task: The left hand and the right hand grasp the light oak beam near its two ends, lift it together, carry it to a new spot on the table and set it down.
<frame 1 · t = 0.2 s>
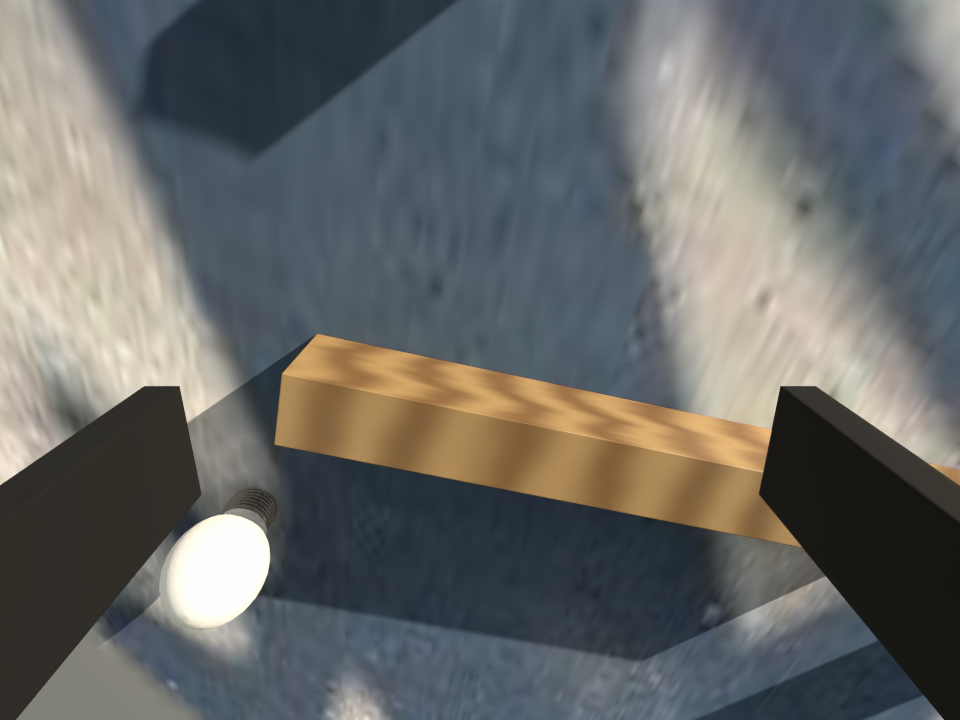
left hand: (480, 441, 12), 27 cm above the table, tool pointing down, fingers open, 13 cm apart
beam: (650, 434, 43), on the table
light bulb: (254, 509, 46), on the table
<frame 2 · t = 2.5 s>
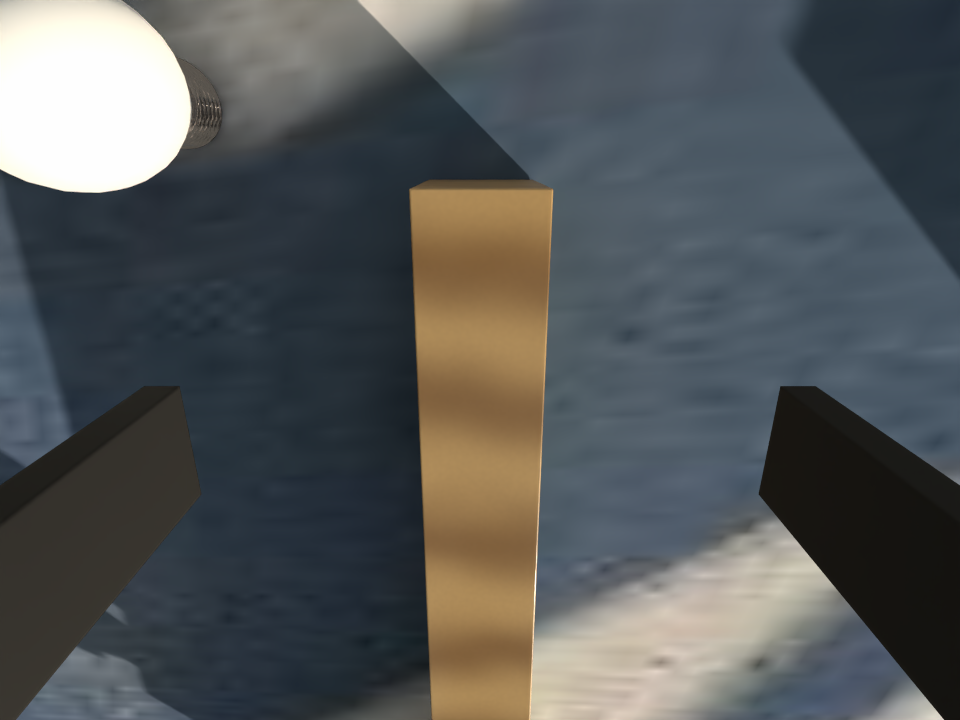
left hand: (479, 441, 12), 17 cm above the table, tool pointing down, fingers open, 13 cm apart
beam: (480, 612, 35), on the table, touching right hand
light bulb: (176, 105, 25), on the table
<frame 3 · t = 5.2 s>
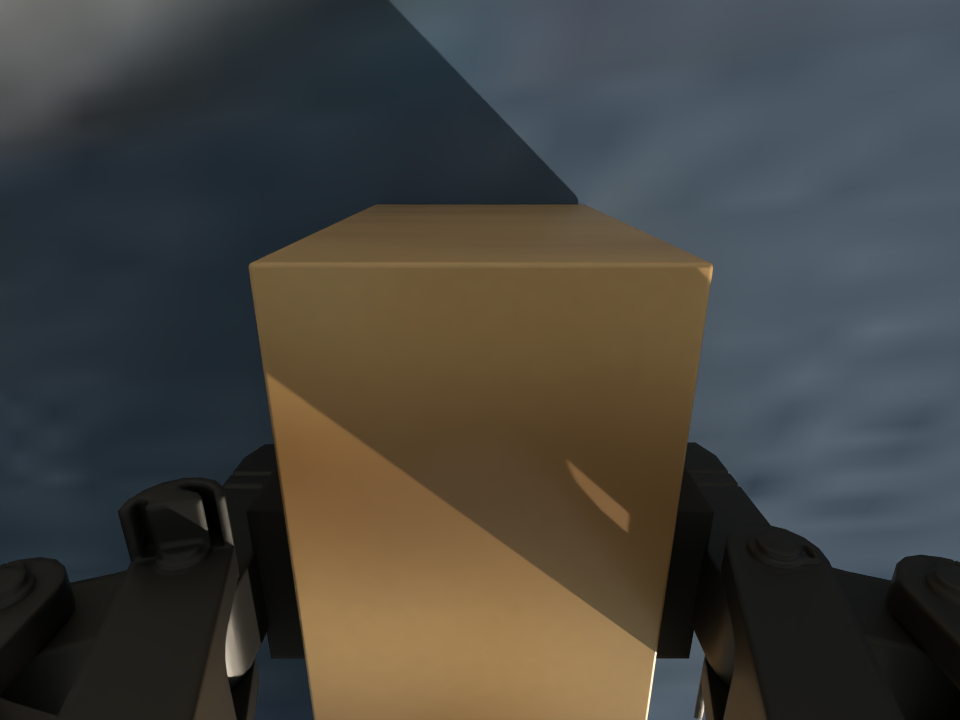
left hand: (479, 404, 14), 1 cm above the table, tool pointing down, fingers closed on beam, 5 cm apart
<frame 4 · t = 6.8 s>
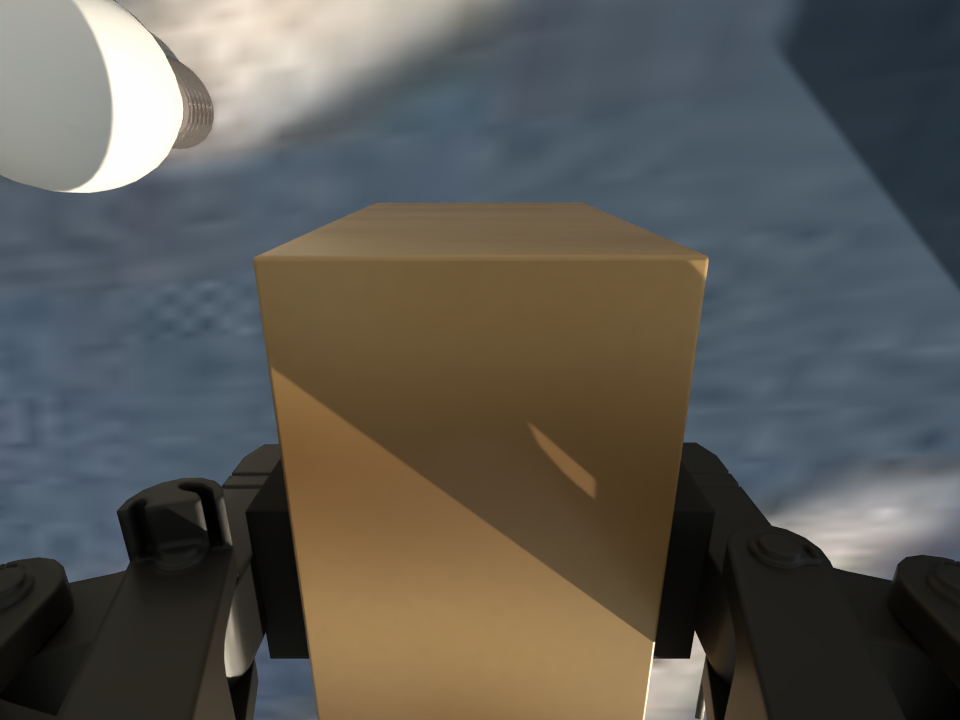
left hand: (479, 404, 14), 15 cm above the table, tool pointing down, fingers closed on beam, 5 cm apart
light bulb: (167, 105, 25), on the table
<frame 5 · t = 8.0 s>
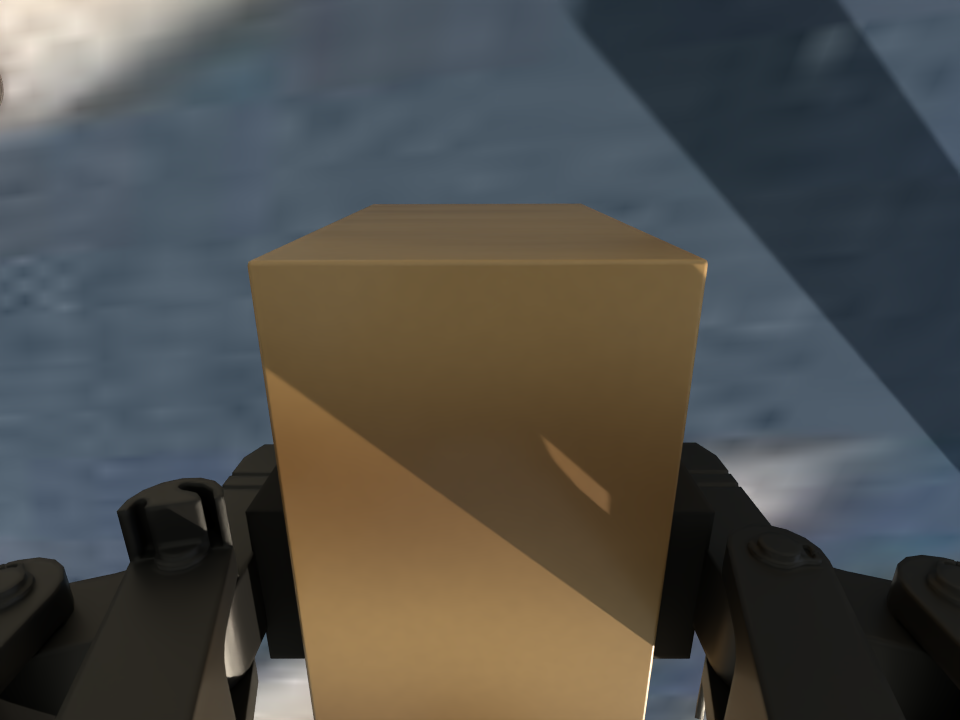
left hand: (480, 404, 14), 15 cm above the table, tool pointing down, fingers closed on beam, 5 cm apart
when the left hand's fingers open (2 cm above the table, at t = 11.0 s): beam drops 2 cm, on the table.
when the right hand's fingers open (5 cm above the table, at t = 11.2 s): beam stays where it is, on the table.
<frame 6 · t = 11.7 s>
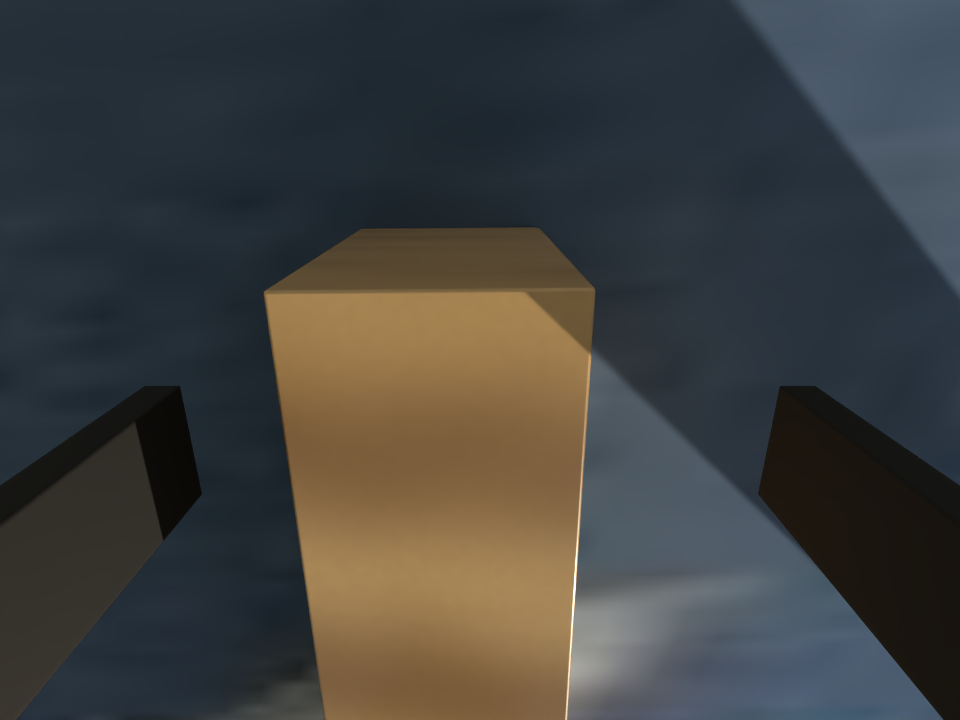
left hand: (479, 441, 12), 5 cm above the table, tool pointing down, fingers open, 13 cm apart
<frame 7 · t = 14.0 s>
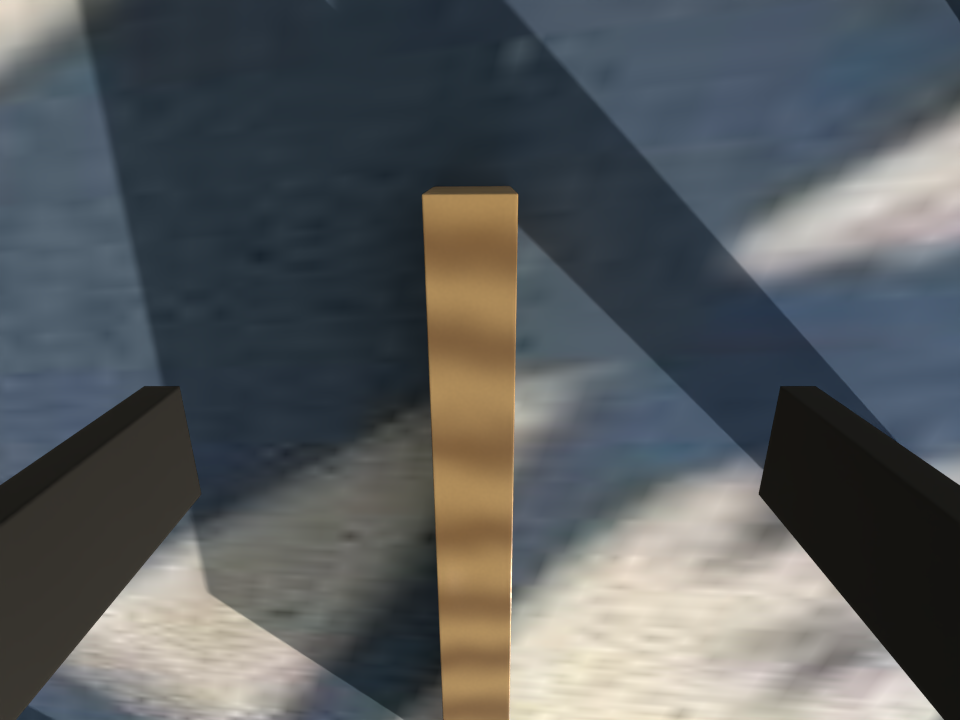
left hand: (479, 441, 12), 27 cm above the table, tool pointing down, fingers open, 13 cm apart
beam: (475, 526, 45), on the table
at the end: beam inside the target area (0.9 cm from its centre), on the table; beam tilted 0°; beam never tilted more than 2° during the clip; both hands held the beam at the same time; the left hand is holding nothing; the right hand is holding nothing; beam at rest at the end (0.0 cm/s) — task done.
